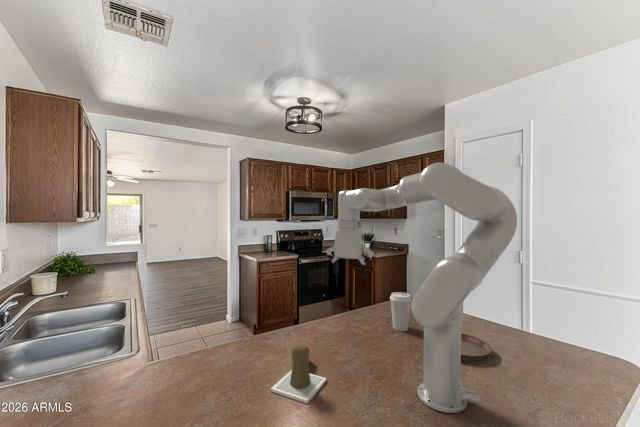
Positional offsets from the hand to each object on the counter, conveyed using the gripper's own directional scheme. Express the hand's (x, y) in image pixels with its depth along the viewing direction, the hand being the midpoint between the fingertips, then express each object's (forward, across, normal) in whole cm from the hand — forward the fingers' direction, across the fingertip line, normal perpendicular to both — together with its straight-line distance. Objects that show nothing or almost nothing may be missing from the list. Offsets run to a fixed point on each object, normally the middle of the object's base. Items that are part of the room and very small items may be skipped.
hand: (349, 274), depth 101 cm
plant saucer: (+30, -35, -25) cm, 53 cm away
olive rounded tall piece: (+29, +8, +21) cm, 36 cm away
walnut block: (+30, +14, +10) cm, 34 cm away
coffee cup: (+30, -12, -37) cm, 49 cm away
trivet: (+30, +8, +21) cm, 37 cm away
